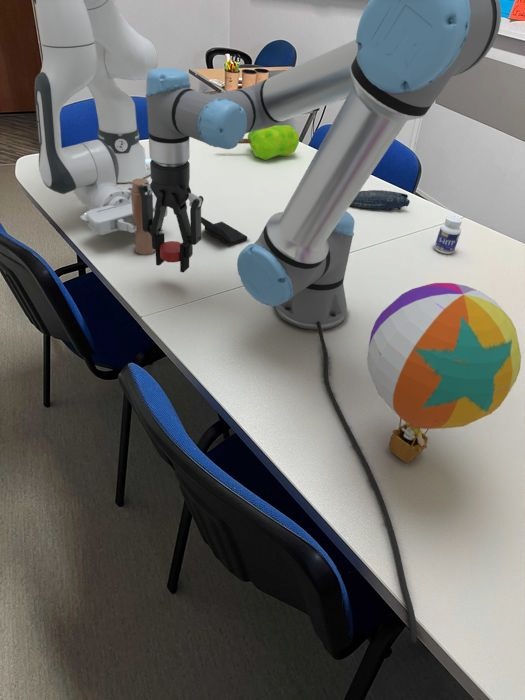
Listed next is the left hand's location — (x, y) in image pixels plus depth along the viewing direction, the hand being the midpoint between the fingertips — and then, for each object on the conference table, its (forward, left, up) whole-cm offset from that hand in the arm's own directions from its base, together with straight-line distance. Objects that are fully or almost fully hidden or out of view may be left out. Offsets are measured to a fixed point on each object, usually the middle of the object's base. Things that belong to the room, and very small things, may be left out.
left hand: (145, 226), depth 124 cm
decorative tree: (-65, +49, -7) cm, 82 cm away
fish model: (-17, +71, -7) cm, 73 cm away
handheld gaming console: (-4, +20, -7) cm, 21 cm away
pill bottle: (+13, +78, -7) cm, 79 cm away
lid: (+16, +4, +2) cm, 17 cm away
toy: (+73, +30, -7) cm, 80 cm away
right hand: (+16, +3, -2) cm, 17 cm away
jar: (-1, 0, -7) cm, 7 cm away
